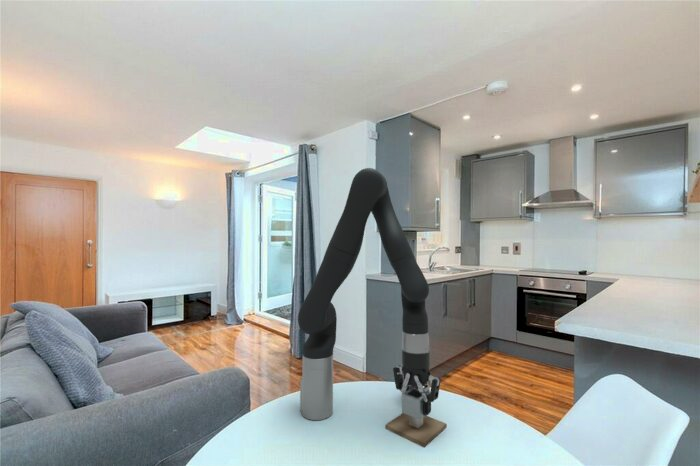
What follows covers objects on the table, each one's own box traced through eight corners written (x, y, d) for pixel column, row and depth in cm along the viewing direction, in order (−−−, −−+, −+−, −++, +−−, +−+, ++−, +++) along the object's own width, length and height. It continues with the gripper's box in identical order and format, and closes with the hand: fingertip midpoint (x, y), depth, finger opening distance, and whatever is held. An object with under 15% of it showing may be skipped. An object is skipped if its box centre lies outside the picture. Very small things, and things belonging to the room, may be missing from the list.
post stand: (385, 428, 87) (385, 406, 87) (409, 412, 96) (409, 391, 96) (424, 447, 79) (424, 422, 79) (446, 427, 87) (446, 405, 88)
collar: (401, 412, 87) (401, 393, 87) (412, 405, 91) (412, 387, 91) (419, 420, 83) (419, 400, 83) (430, 411, 87) (430, 393, 87)
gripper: (386, 345, 90) (387, 406, 89) (432, 357, 80) (433, 426, 79) (401, 340, 96) (402, 397, 95) (446, 350, 86) (447, 414, 85)
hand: (416, 410), depth 87 cm, fingers closed on collar, 5 cm apart
